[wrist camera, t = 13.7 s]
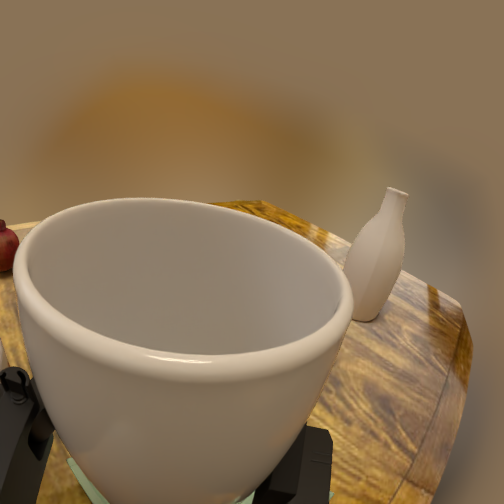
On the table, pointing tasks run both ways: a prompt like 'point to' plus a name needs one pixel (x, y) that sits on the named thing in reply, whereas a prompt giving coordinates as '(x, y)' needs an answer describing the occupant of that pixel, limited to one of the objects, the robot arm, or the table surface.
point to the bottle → (377, 257)
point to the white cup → (177, 343)
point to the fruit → (7, 247)
